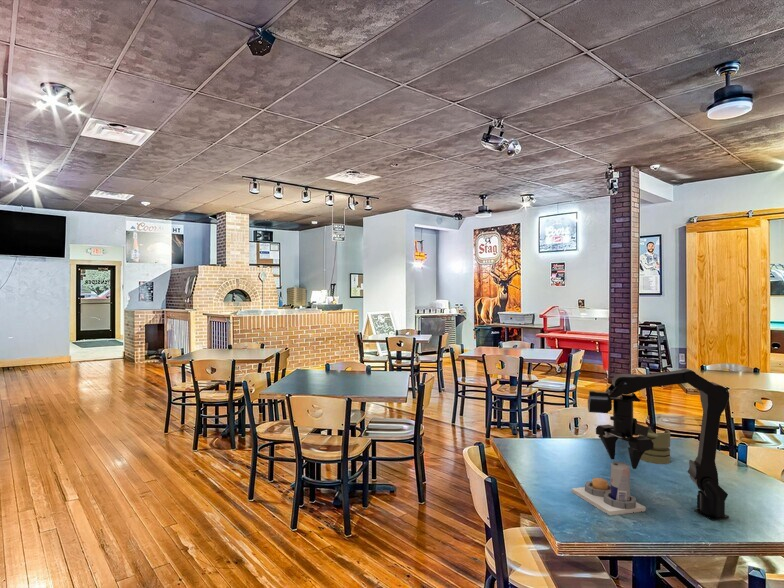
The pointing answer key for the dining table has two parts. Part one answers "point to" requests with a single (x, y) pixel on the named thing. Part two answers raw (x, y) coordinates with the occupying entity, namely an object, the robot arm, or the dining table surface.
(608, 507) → the housing
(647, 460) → the piston
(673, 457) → the dining table surface
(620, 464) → the energy drink
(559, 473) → the dining table surface
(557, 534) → the dining table surface
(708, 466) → the robot arm
